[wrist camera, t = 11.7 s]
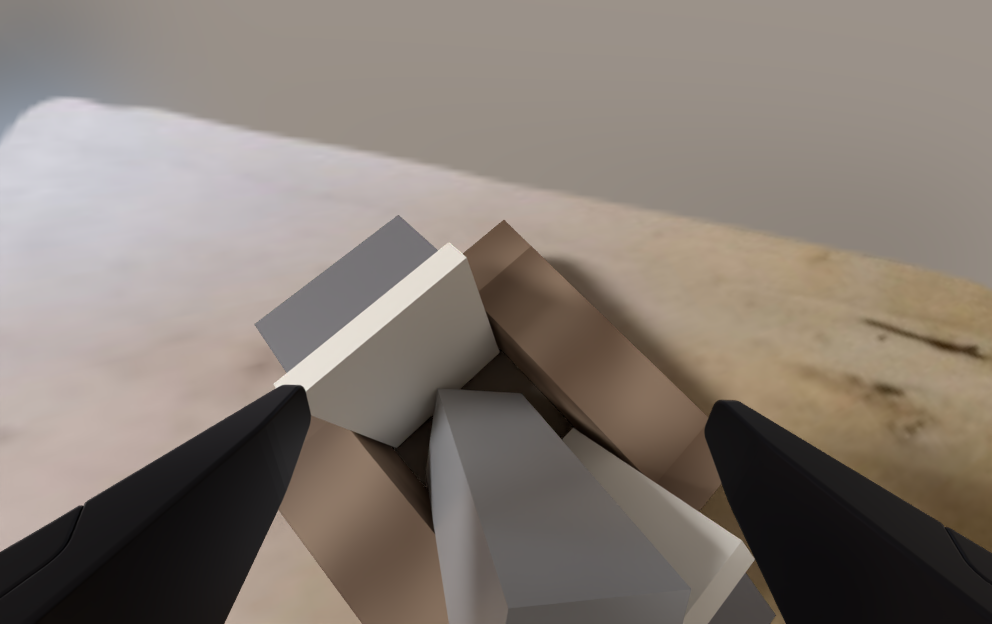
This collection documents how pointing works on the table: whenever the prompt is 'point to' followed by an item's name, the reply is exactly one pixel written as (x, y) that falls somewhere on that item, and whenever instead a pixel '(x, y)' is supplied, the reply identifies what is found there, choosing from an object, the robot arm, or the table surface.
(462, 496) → the grey stone block
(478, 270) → the box
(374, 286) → the panel
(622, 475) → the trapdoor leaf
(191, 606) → the robot arm
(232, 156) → the table surface
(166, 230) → the table surface
